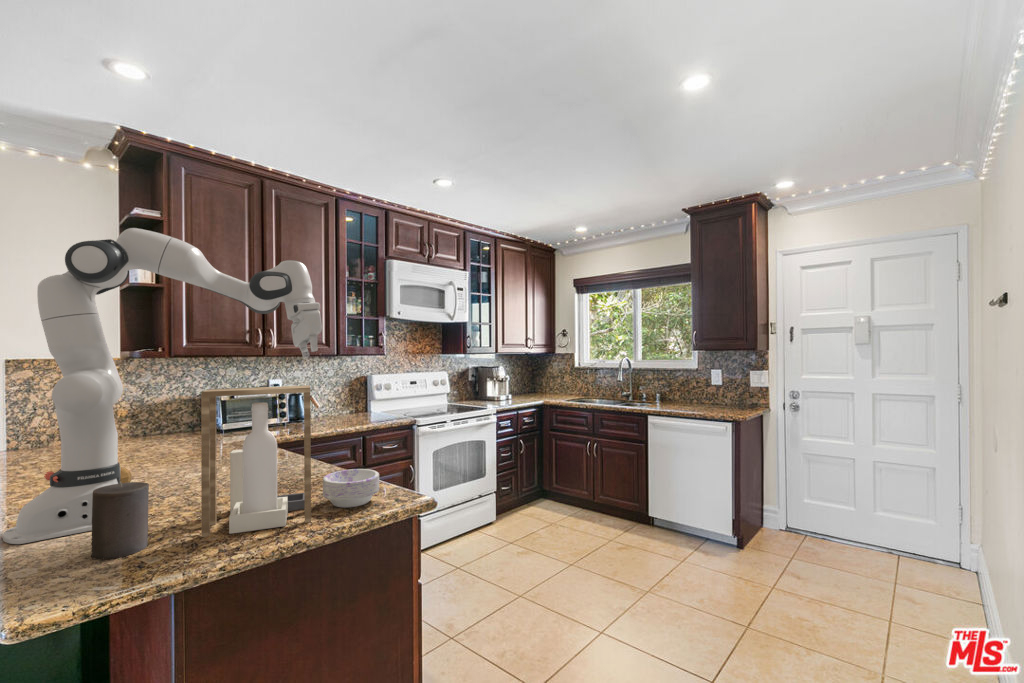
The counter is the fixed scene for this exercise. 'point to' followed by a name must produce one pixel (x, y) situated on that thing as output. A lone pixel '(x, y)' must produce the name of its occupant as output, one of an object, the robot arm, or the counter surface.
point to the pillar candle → (119, 520)
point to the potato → (125, 475)
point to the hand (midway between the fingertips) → (310, 354)
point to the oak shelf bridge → (210, 447)
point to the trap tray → (295, 501)
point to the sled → (236, 518)
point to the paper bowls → (350, 487)
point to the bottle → (259, 464)
